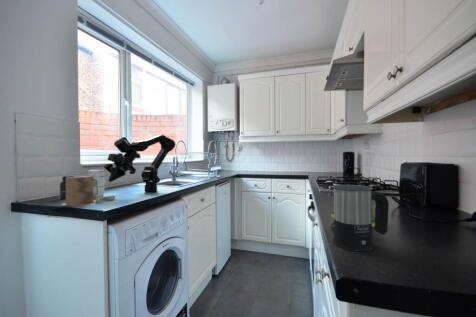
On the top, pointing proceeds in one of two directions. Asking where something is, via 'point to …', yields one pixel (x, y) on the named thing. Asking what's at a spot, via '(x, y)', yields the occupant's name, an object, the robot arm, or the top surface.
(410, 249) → the top surface
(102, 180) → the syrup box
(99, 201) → the chute
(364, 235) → the milk frother
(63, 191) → the supplement bottle
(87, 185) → the block
